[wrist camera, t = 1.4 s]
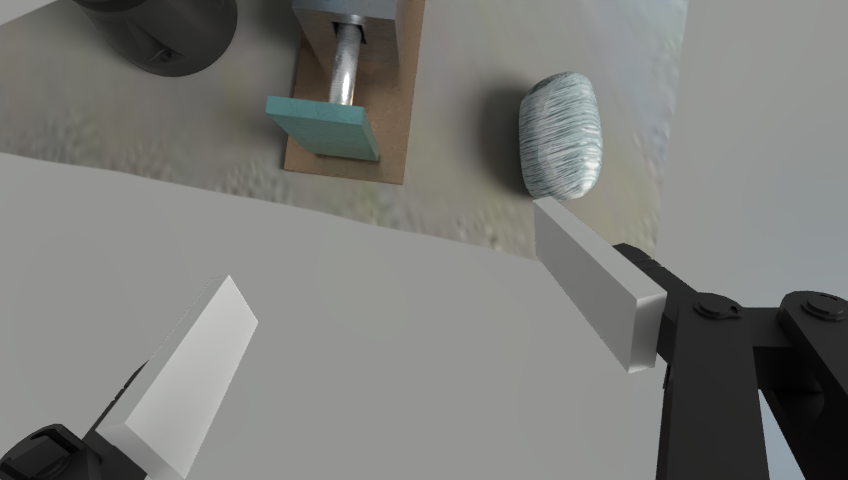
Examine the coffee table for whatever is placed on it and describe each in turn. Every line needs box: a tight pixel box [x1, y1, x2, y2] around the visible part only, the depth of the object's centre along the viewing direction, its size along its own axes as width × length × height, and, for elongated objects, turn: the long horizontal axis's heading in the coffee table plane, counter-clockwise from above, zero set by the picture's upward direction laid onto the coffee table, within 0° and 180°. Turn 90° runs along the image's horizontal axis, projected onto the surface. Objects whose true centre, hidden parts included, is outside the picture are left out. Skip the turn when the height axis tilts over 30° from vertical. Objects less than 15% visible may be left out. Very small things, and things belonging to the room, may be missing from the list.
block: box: [265, 22, 379, 161], centre depth 34 cm, size 14×8×11 cm, turn 173°
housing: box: [284, 0, 425, 185], centre depth 37 cm, size 27×14×9 cm, turn 173°
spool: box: [519, 72, 602, 202], centre depth 38 cm, size 14×10×10 cm
